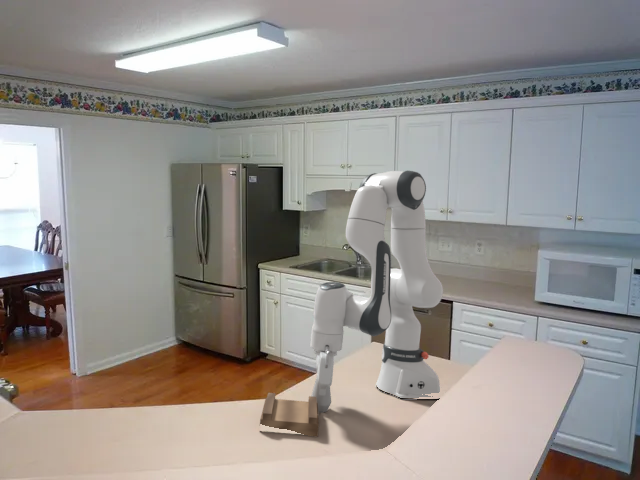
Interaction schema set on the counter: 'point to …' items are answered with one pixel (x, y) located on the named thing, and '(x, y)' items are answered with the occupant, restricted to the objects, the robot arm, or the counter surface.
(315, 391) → the salt shaker
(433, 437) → the counter surface
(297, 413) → the display stand
